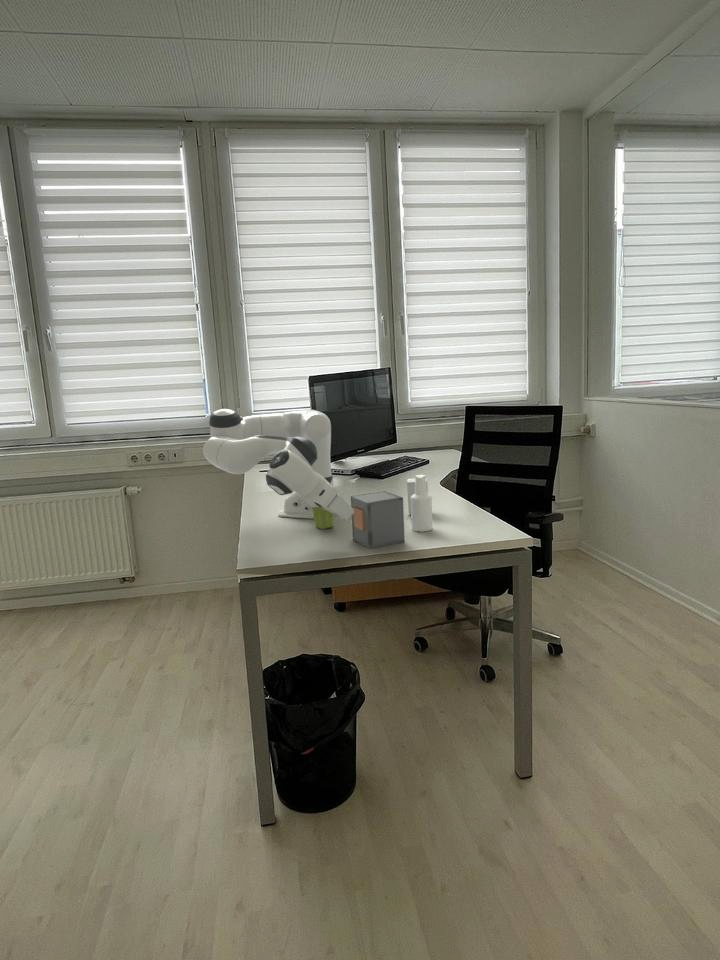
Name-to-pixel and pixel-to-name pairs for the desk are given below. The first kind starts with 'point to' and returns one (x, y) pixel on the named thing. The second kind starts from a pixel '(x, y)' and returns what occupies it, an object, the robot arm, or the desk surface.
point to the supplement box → (411, 491)
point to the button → (359, 518)
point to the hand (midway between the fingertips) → (349, 519)
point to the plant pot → (323, 518)
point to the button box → (379, 519)
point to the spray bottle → (421, 506)
